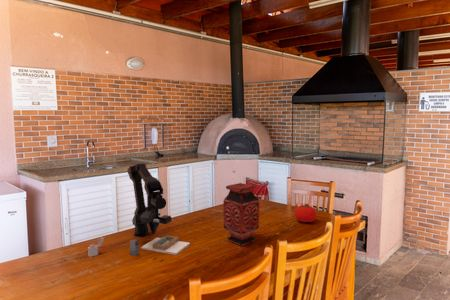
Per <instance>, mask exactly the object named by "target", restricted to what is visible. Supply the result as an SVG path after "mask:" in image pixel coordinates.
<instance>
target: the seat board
mask: <svg viewBox="0 0 450 300" xmlns="http://www.w3.org/2000/svg"><path fill="white" fill-rule="evenodd" d="M165 237H167V241H165V242H164V243H162V244H161V245H160V244H154V243H155V242H157V241H158V240H160V239H161V238H162V237H155V238H154V239H152V240H151V241H149V242H147V243H146V244H144V245H143V246H141V249H142V250H146V251H151V252H158V253H163V254H169V255H174V256H177V255H178V254H180V253H181V252H183V251H184V250H185V249H186V248H188V247H189V246H190V245H191V243H190V242H188V241H181V240H179V237H178V236H172V235H165Z"/></svg>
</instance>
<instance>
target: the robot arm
mask: <svg viewBox="0 0 450 300" xmlns="http://www.w3.org/2000/svg"><path fill="white" fill-rule="evenodd" d="M127 175H128V176H129V179H130V181H132V183H133V184H132V185H133V191H134V199H135V205H136V207H135V210H134V212H133V214H134V215H133V218H132V220H131V222H132V225H133V226H134V234H133V236H136V237H141V238H144V237H145V236H147V235H149V234H150V232H149V230H150V231H151V234H152V235H155V234H156V232H157V229H158V227H159V226H160V224H163V225H167V224H169V223H171V222H172V219H173V218H172V216H171V215H167V214H166V215H165V214H164V215H161V213H160V210H163V209H165V207H166V206H167V201H166V199H165V197H163V195H164V189H163V185H162V184H161V182H160V181H159V179H158V178H157V177H154V176H153V175H152V174H151V172H150V171H149V169H148V168H147V165H146V163H144V162H143V163H137V164H135V165H130V166H129V167H128V168H127ZM143 182H144V187H143ZM144 190H145V192H146V202H145V195H144Z"/></svg>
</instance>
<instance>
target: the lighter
mask: <svg viewBox="0 0 450 300" xmlns="http://www.w3.org/2000/svg"><path fill="white" fill-rule="evenodd" d="M104 240H105V238H104V237H102V236H100V238H99V239H98V242H97V244H90V245H89V246H88V247H87V253H88V254H87V255H88V257H89V258H91V257H95V256H98V255H99V248H101V246H102V244H103V242H104Z"/></svg>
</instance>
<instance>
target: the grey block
mask: <svg viewBox="0 0 450 300" xmlns="http://www.w3.org/2000/svg"><path fill="white" fill-rule="evenodd" d="M138 255H140V239H135V238H133V239H131V240H130V241H129V256H133V257H137V256H138Z"/></svg>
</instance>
